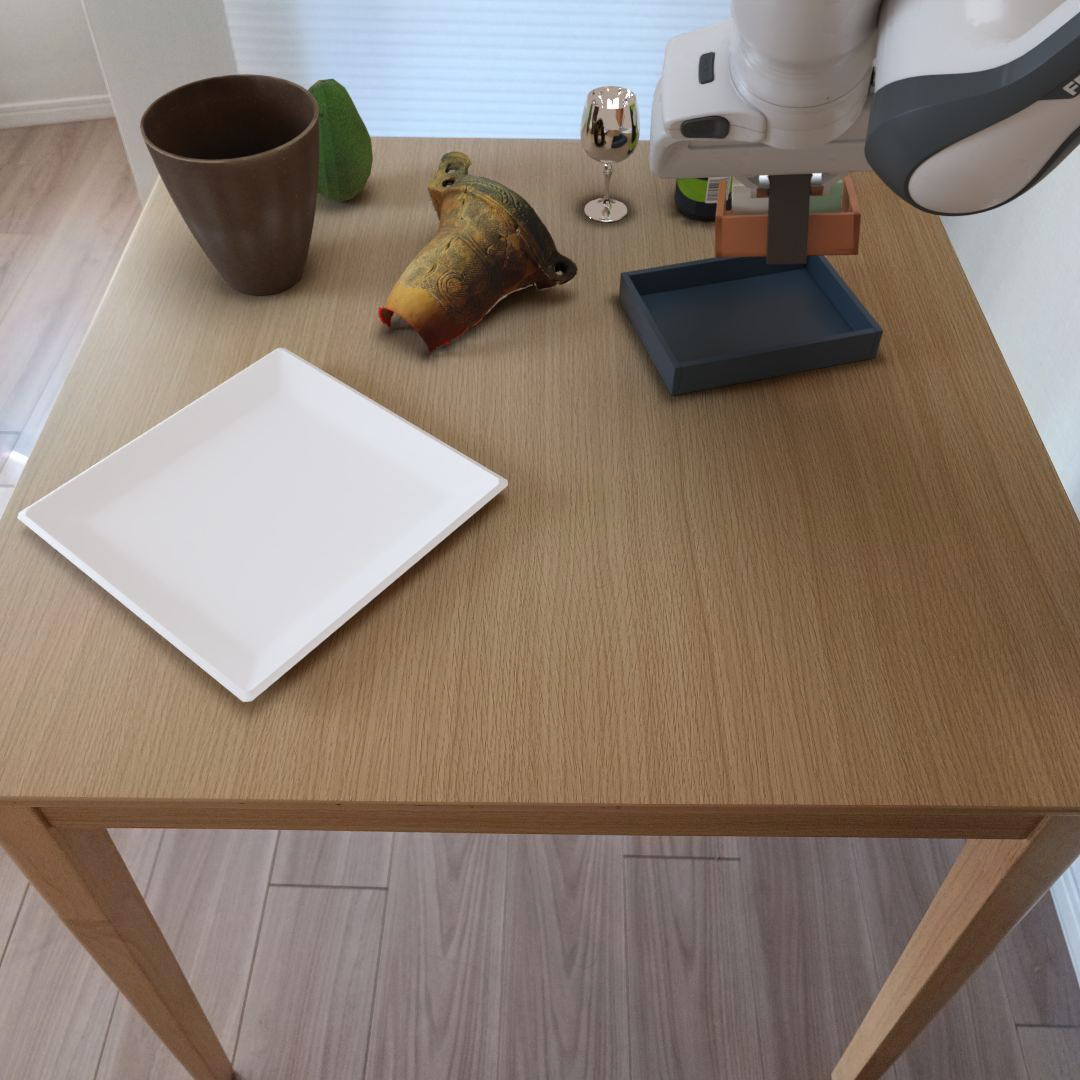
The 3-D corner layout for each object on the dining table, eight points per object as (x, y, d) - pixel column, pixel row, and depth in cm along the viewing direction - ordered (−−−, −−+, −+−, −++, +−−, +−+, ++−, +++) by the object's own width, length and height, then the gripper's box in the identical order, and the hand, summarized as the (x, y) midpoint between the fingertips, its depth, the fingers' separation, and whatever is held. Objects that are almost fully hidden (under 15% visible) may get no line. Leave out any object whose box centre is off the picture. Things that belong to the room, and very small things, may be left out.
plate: (511, 499, 85) (511, 480, 84) (252, 720, 72) (246, 702, 70) (284, 362, 96) (280, 343, 95) (22, 532, 83) (13, 513, 81)
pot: (315, 240, 93) (452, 103, 97) (331, 303, 104) (454, 177, 108) (472, 361, 91) (605, 215, 95) (472, 413, 102) (591, 280, 106)
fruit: (303, 221, 111) (283, 107, 102) (296, 181, 116) (276, 69, 107) (382, 211, 112) (369, 98, 103) (372, 172, 118) (358, 61, 109)
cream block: (780, 233, 89) (783, 183, 87) (731, 234, 90) (732, 185, 88) (780, 219, 93) (782, 170, 91) (732, 220, 93) (732, 172, 91)
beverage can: (742, 198, 114) (764, 55, 103) (723, 228, 111) (744, 83, 99) (685, 185, 116) (701, 42, 105) (665, 214, 112) (679, 69, 101)
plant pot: (331, 322, 100) (304, 160, 88) (168, 321, 100) (119, 159, 88) (351, 231, 110) (329, 74, 98) (203, 230, 110) (162, 73, 98)
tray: (807, 268, 106) (812, 241, 104) (875, 357, 97) (883, 330, 95) (618, 299, 102) (620, 272, 100) (671, 396, 93) (674, 368, 91)
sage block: (839, 232, 89) (842, 181, 86) (788, 233, 89) (791, 183, 87) (836, 217, 92) (839, 168, 90) (787, 218, 93) (789, 170, 90)
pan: (860, 263, 84) (871, 126, 78) (714, 266, 86) (715, 132, 80) (848, 214, 94) (857, 90, 89) (718, 217, 96) (720, 97, 91)
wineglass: (587, 229, 110) (591, 115, 101) (570, 199, 114) (573, 87, 105) (641, 221, 111) (650, 107, 102) (623, 192, 115) (630, 80, 106)
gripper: (970, 20, 69) (931, 145, 82) (643, 40, 72) (656, 156, 86) (972, 110, 67) (933, 222, 81) (639, 125, 71) (654, 230, 84)
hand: (788, 188), depth 83 cm, fingers closed on pan, 3 cm apart
